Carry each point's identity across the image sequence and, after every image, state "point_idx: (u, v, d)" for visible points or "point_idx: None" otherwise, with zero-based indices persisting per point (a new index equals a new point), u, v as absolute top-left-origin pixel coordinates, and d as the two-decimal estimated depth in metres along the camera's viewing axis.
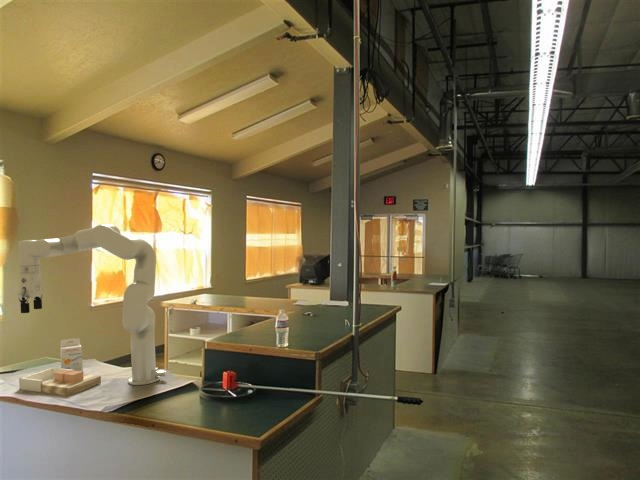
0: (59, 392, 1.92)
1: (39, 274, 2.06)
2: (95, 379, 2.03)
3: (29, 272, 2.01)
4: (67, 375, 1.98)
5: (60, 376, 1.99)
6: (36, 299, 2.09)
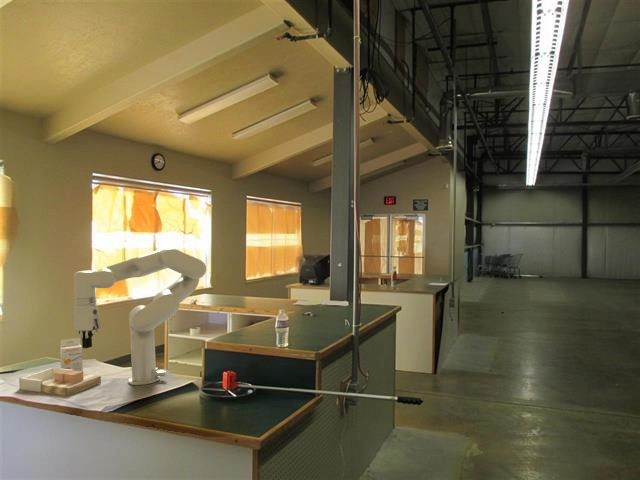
0: (59, 392, 1.92)
1: None
2: (95, 379, 2.03)
3: (95, 303, 1.96)
4: (67, 375, 1.98)
5: (60, 376, 1.99)
6: None
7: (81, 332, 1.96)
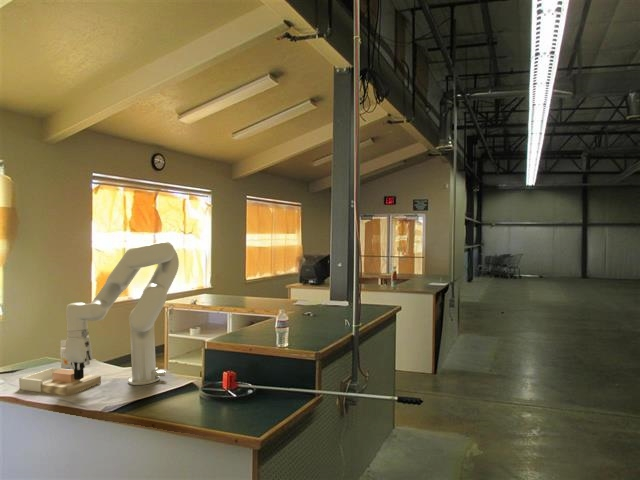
0: (59, 392, 1.92)
1: None
2: (95, 379, 2.03)
3: (87, 335, 1.99)
4: (64, 375, 1.98)
5: (59, 375, 2.00)
6: None
7: (73, 364, 1.98)
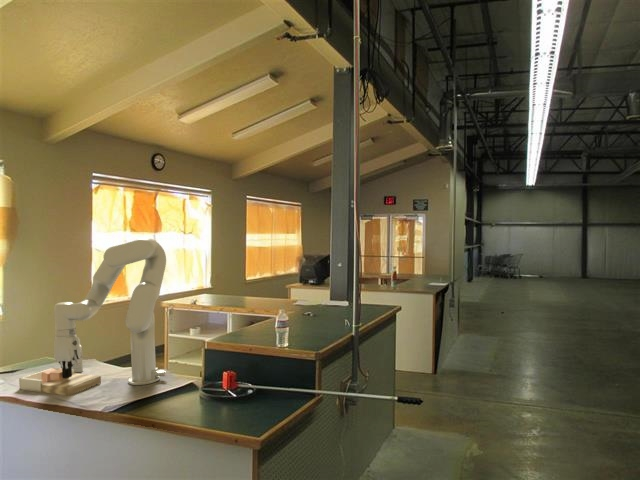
0: (59, 392, 1.92)
1: None
2: (95, 379, 2.03)
3: (75, 334, 2.01)
4: (53, 373, 2.01)
5: (43, 375, 2.03)
6: None
7: (61, 362, 2.00)
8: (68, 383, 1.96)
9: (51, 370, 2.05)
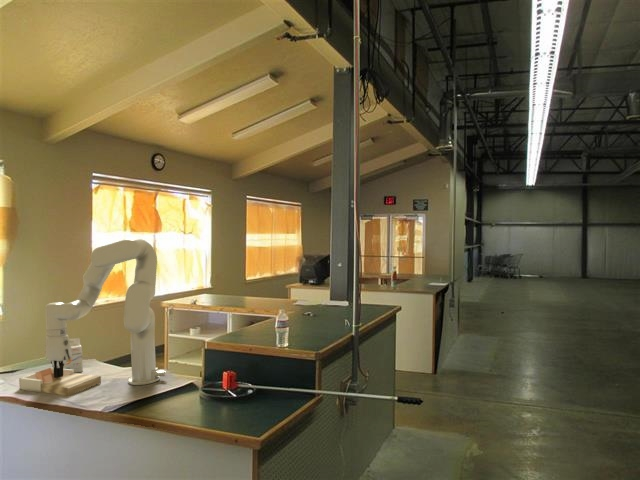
0: (59, 392, 1.92)
1: None
2: (95, 379, 2.03)
3: (66, 334, 2.03)
4: (46, 376, 2.03)
5: (37, 375, 2.04)
6: None
7: (53, 362, 2.02)
8: (68, 383, 1.96)
9: None
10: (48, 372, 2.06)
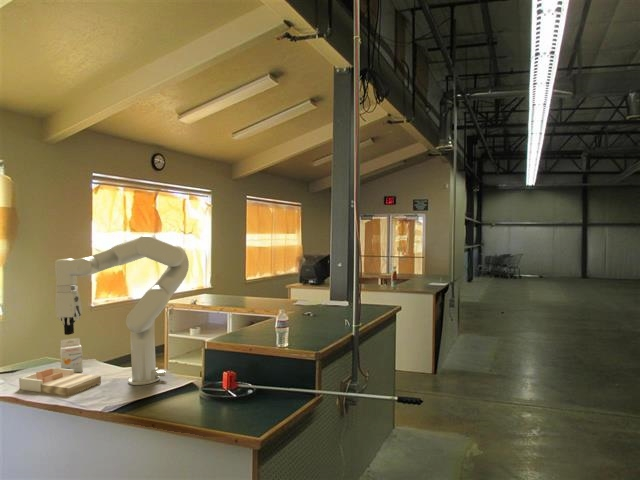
0: (59, 392, 1.92)
1: None
2: (95, 379, 2.03)
3: (76, 290, 2.00)
4: (46, 377, 2.03)
5: (38, 375, 2.04)
6: None
7: (63, 319, 2.00)
8: (68, 383, 1.96)
9: (45, 370, 2.07)
10: (49, 373, 2.06)
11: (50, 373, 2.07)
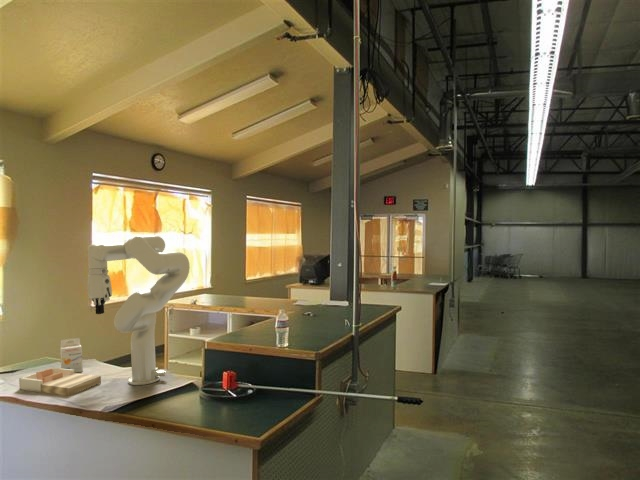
0: (59, 392, 1.92)
1: None
2: (95, 379, 2.03)
3: (107, 273, 2.17)
4: (46, 377, 2.03)
5: (38, 375, 2.04)
6: None
7: (94, 299, 2.16)
8: (68, 383, 1.96)
9: (45, 370, 2.07)
10: (49, 373, 2.06)
11: (50, 373, 2.07)
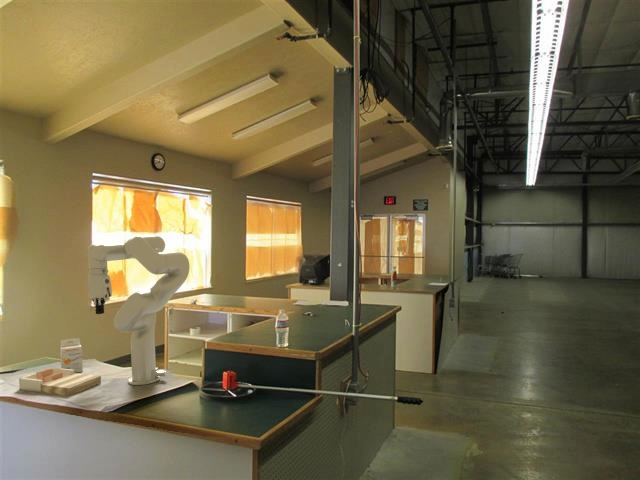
0: (59, 392, 1.92)
1: None
2: (95, 379, 2.03)
3: (107, 273, 2.17)
4: (46, 377, 2.03)
5: (38, 375, 2.04)
6: None
7: (94, 299, 2.16)
8: (68, 383, 1.96)
9: (45, 370, 2.07)
10: (49, 373, 2.06)
11: (50, 373, 2.07)
